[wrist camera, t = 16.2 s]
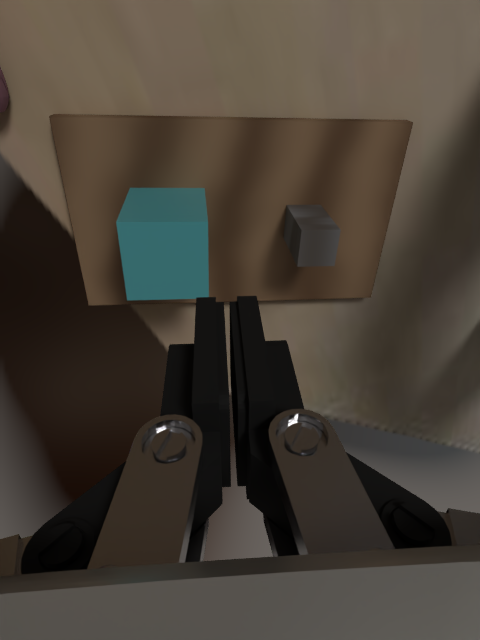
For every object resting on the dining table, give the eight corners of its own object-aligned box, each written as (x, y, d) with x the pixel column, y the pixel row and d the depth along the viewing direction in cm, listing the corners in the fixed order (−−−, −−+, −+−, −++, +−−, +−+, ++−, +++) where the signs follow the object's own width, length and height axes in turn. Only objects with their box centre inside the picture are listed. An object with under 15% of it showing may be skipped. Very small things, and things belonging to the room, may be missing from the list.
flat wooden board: (406, 120, 29) (451, 136, 24) (366, 291, 37) (393, 330, 32) (53, 114, 27) (22, 130, 22) (91, 299, 34) (74, 342, 29)
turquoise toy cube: (204, 188, 29) (207, 221, 24) (205, 254, 32) (208, 298, 27) (129, 187, 29) (116, 222, 23) (137, 255, 32) (127, 300, 26)
